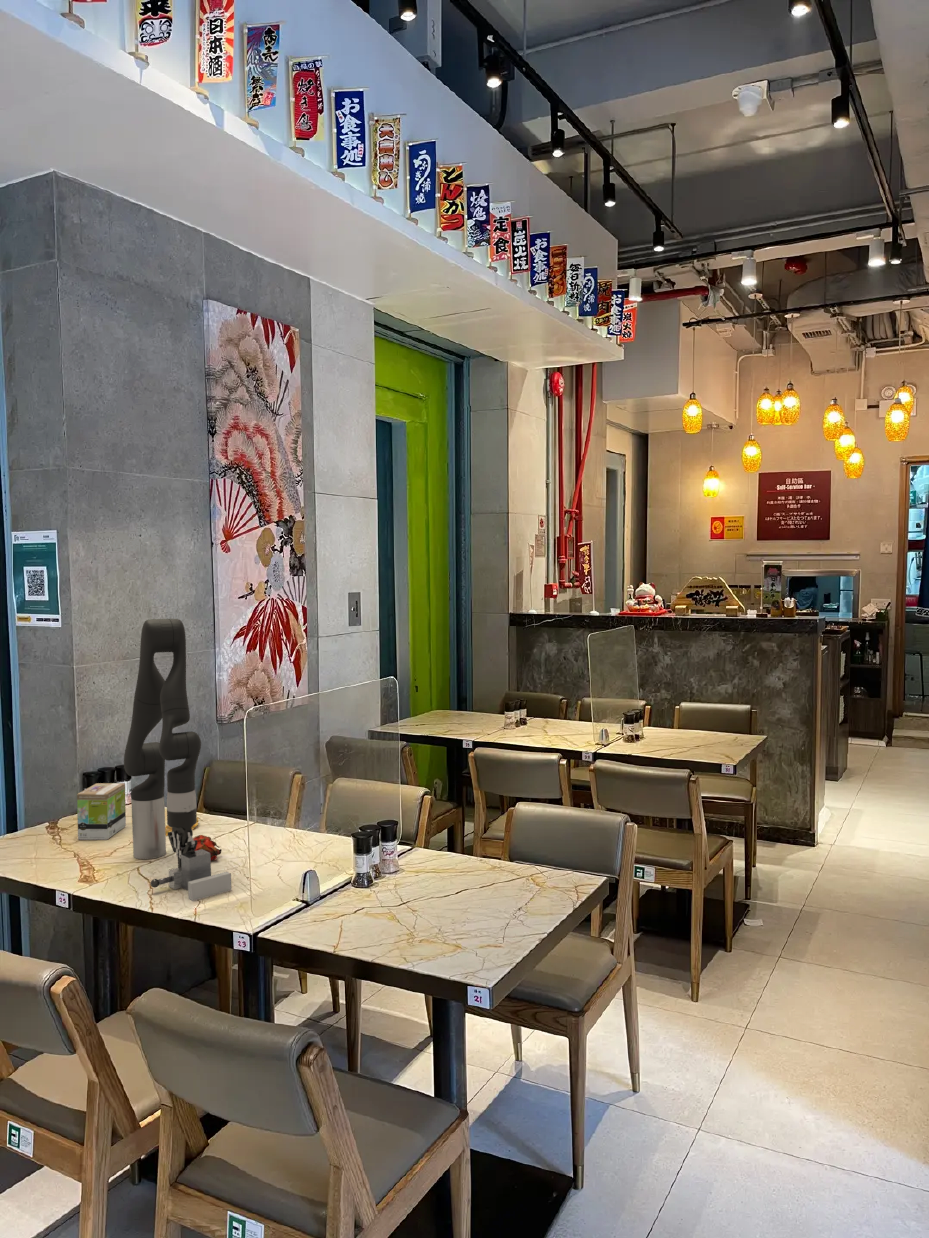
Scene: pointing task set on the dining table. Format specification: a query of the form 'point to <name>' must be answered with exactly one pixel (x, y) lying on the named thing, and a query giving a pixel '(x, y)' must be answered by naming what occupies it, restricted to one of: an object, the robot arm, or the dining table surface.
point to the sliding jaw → (170, 879)
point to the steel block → (195, 866)
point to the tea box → (101, 811)
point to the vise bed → (209, 886)
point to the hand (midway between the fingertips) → (183, 870)
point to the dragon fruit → (207, 846)
